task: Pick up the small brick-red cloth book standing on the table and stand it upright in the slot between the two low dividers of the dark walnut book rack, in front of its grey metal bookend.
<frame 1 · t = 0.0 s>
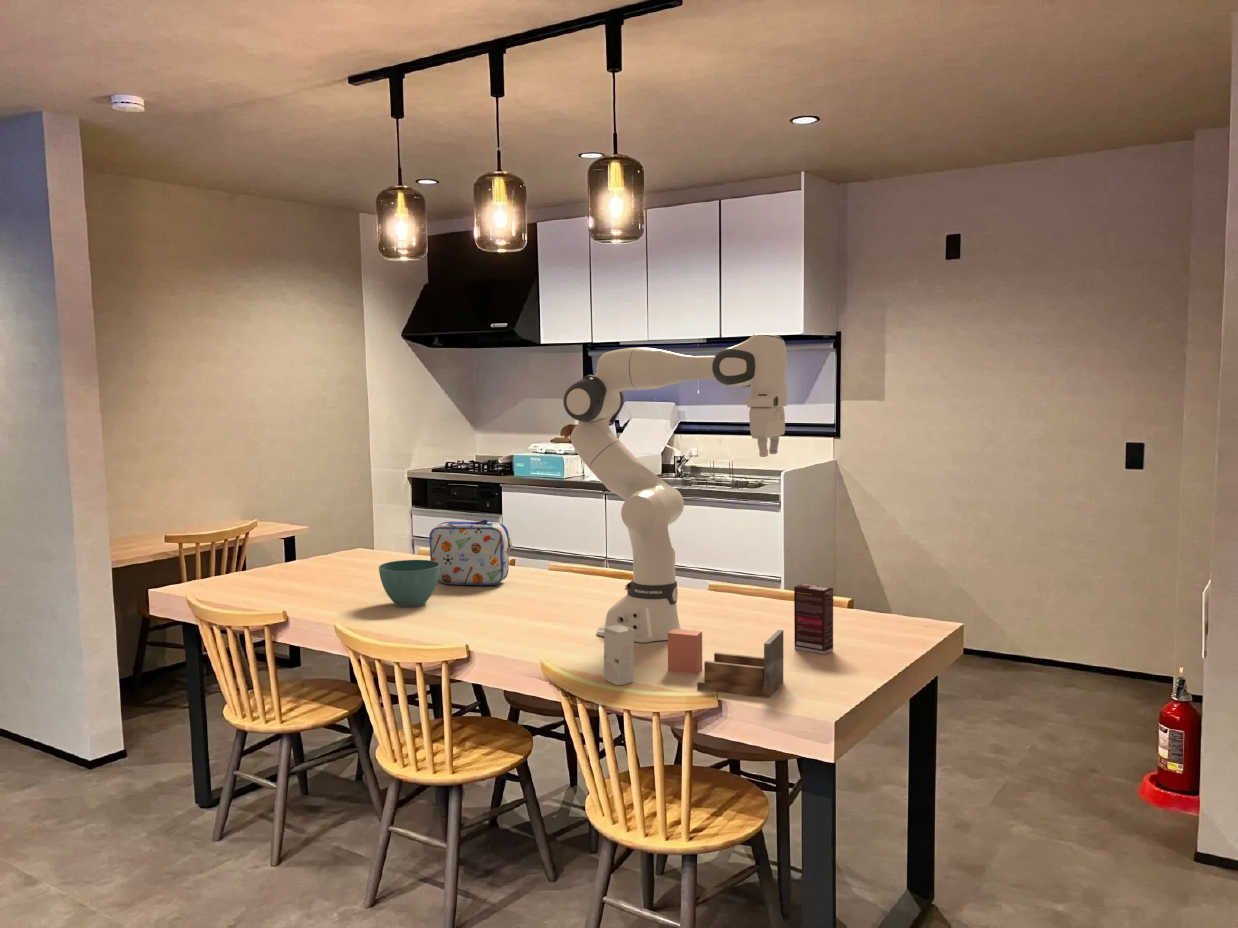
hand: (768, 455, 235), 48 cm above the table, fingers open, 8 cm apart
skincare box: (619, 681, 212), on the table
lunch box: (472, 584, 319), on the table
green bowl: (410, 605, 290), on the table
supplement box: (813, 650, 235), on the table
red book: (685, 670, 220), on the table
book rack: (740, 684, 208), on the table
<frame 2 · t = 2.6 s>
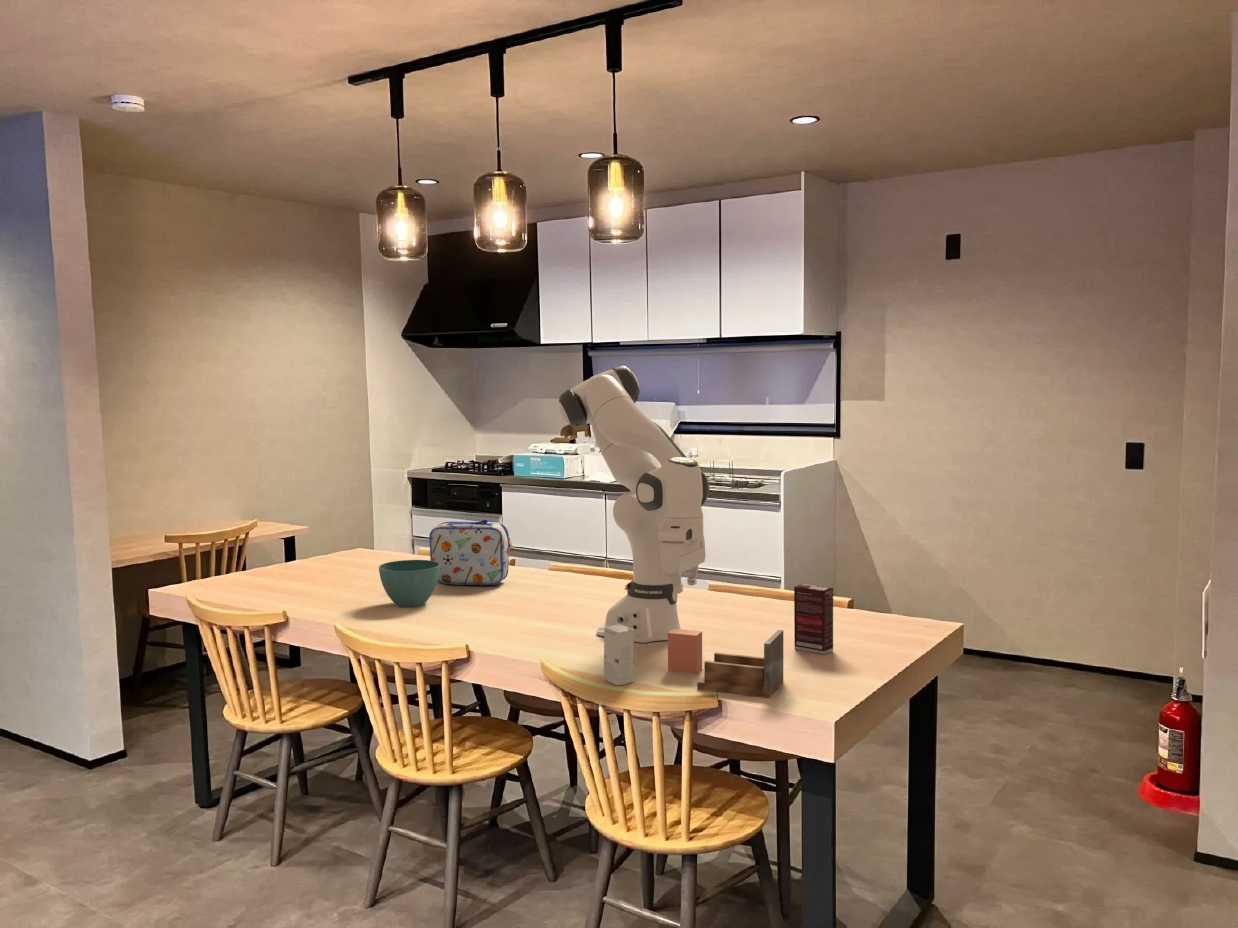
hand: (685, 588, 218), 19 cm above the table, fingers open, 8 cm apart
nothing on the table moved.
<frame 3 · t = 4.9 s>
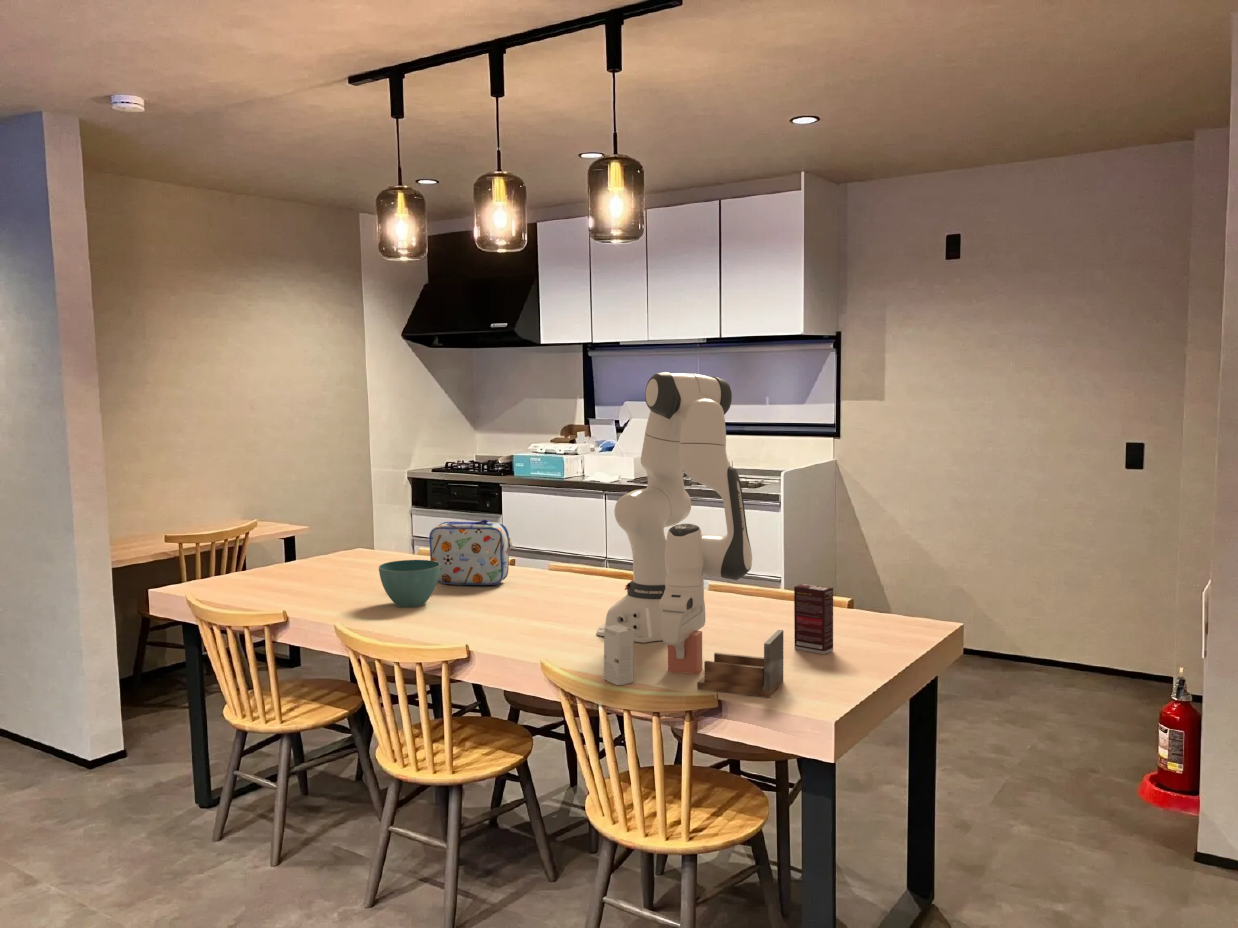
hand: (685, 654, 219), 4 cm above the table, fingers closed on red book, 4 cm apart
red book: (685, 670, 220), on the table, touching gripper
everything else where it was.
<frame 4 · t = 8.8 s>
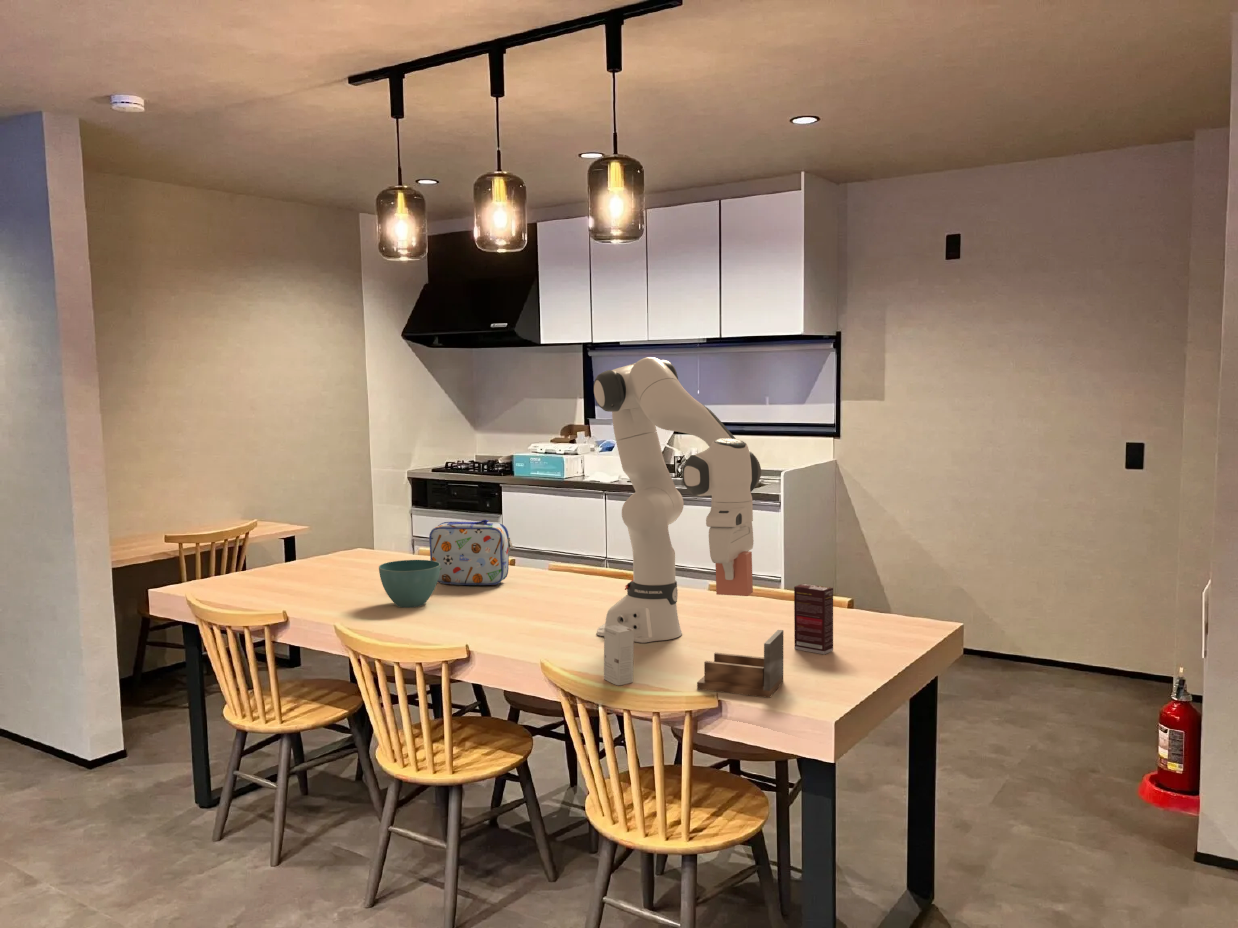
hand: (733, 576, 207), 24 cm above the table, fingers closed on red book, 4 cm apart
red book: (734, 593, 207), point 20 cm above the table, touching gripper
everything else where it was.
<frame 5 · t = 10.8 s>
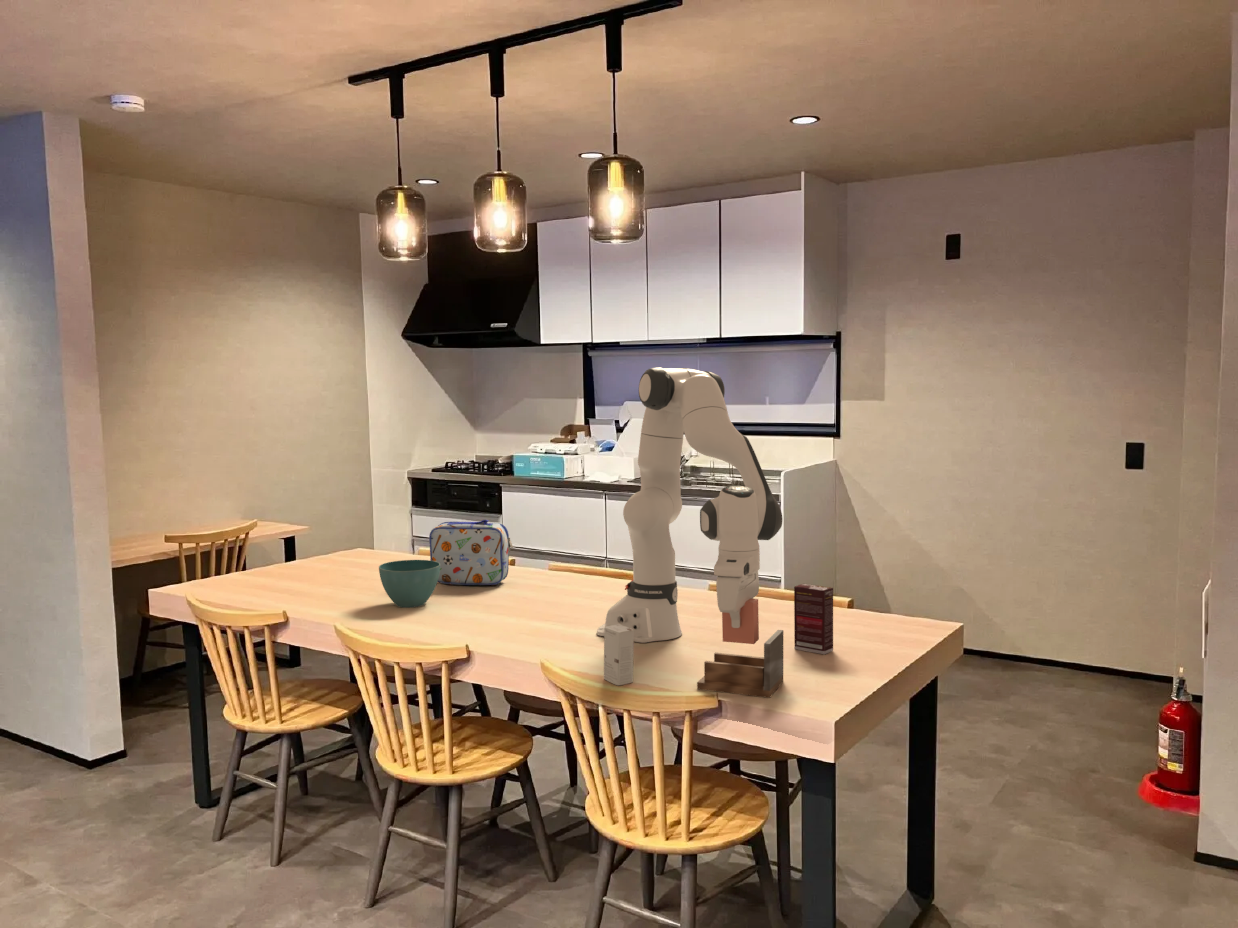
hand: (740, 624, 207), 14 cm above the table, fingers closed on red book, 4 cm apart
red book: (740, 640, 208), point 10 cm above the table, touching gripper
everything else where it was.
when the fingers open (7 cm above the table, at t = 12.8 s): red book drops 2 cm, resting on book rack.
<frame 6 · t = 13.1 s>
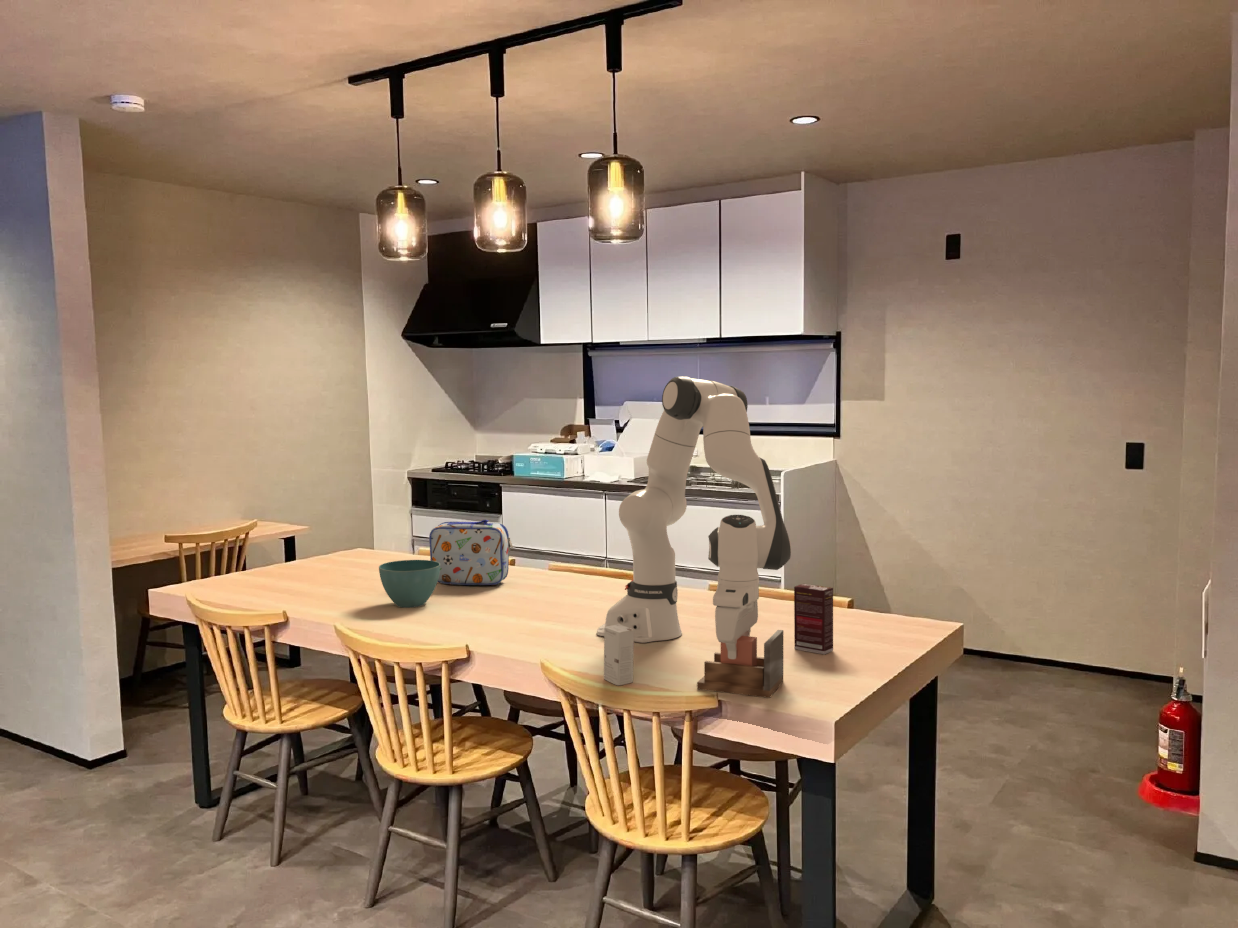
hand: (738, 652, 208), 7 cm above the table, fingers open, 7 cm apart
red book: (738, 678, 208), point 1 cm above the table, touching book rack
everything else where it was.
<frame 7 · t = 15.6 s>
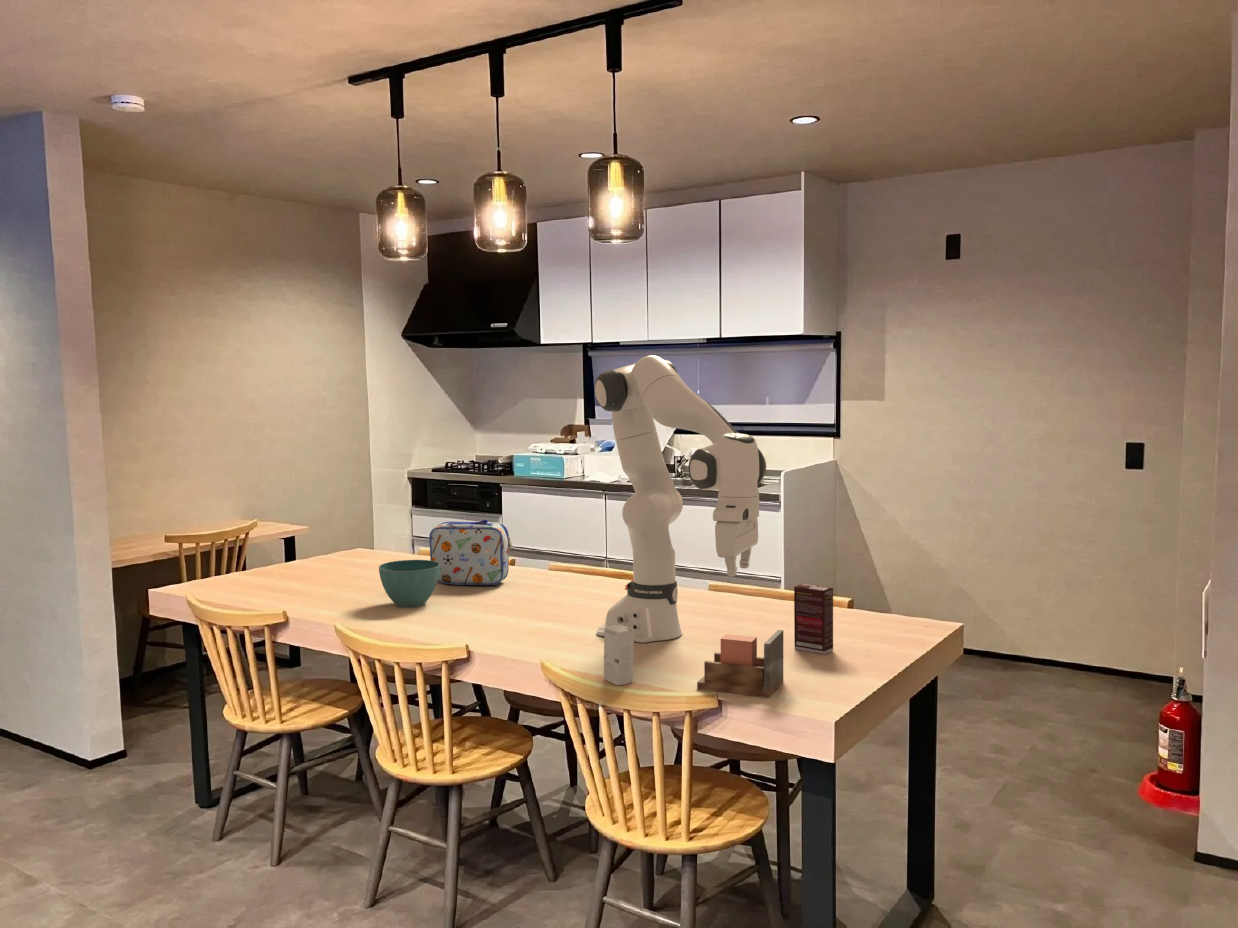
hand: (738, 571, 207), 25 cm above the table, fingers open, 8 cm apart
nothing on the table moved.
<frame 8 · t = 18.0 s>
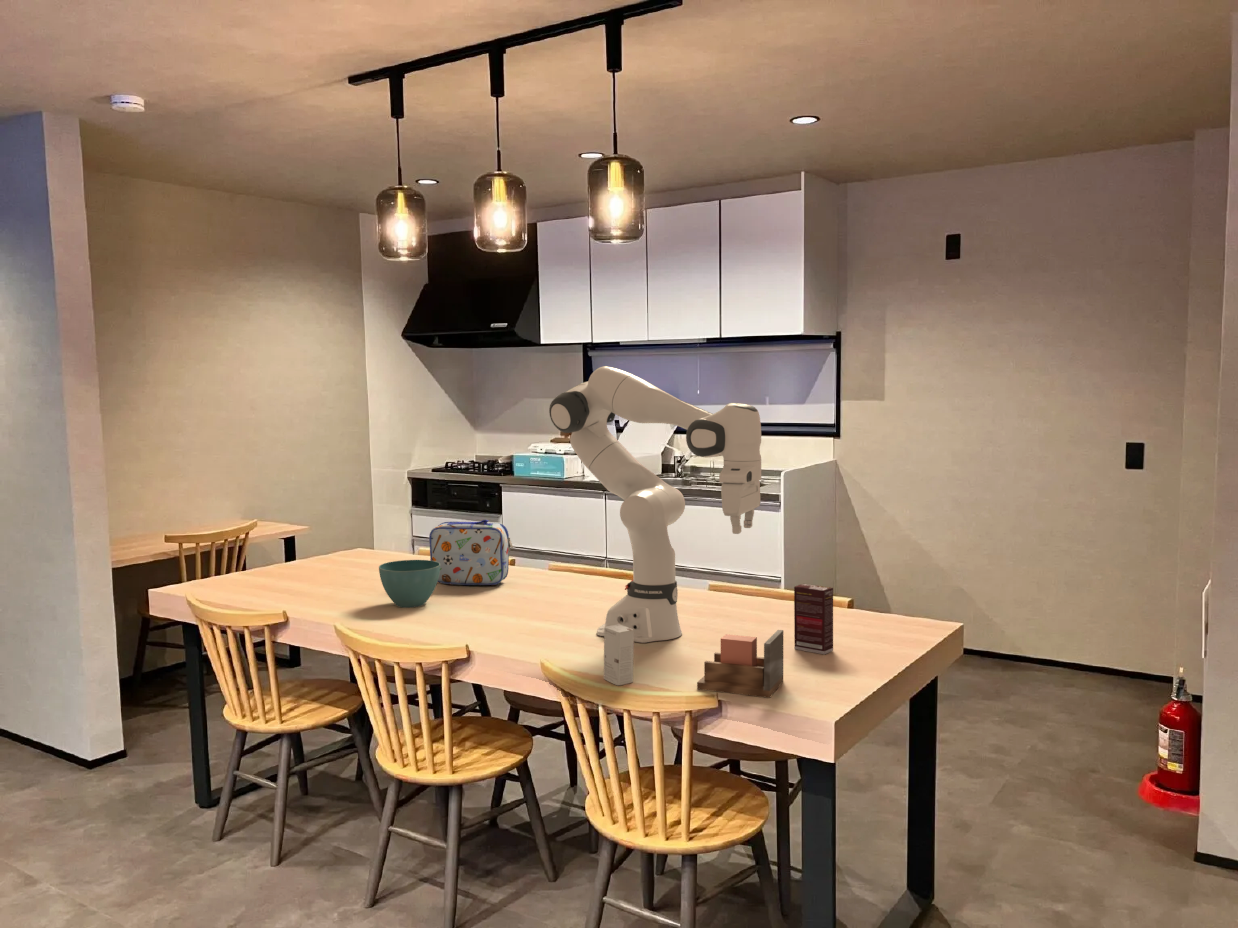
hand: (742, 530, 225), 31 cm above the table, fingers open, 8 cm apart
nothing on the table moved.
at the end: red book 0.1 cm off-centre on the book rack, point 1.5 cm above the book rack's base; red book tilted 0°; the gripper is holding nothing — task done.
